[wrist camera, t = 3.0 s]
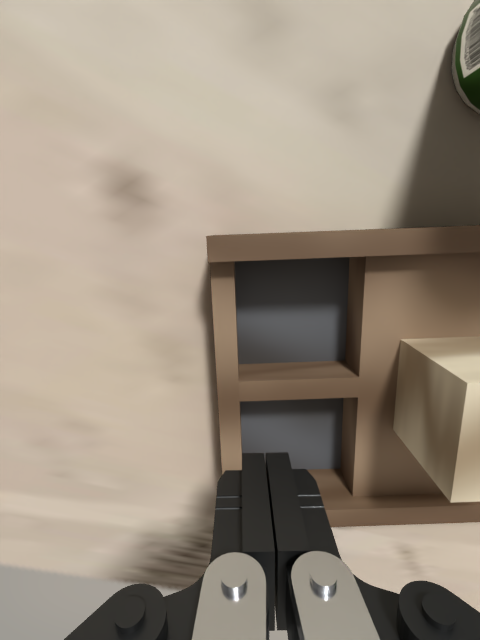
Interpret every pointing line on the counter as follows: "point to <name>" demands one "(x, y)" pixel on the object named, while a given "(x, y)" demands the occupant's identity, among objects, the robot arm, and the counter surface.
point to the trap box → (338, 356)
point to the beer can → (468, 58)
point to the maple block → (442, 411)
